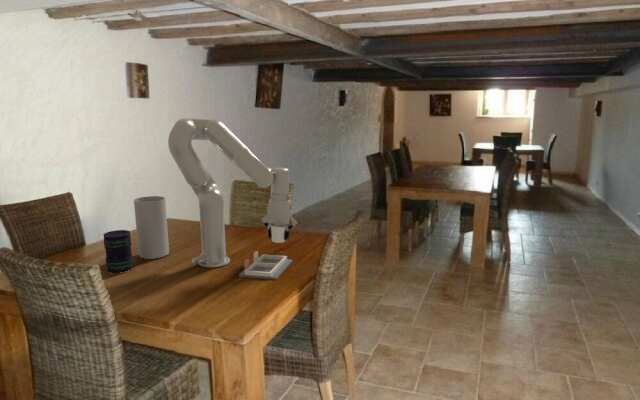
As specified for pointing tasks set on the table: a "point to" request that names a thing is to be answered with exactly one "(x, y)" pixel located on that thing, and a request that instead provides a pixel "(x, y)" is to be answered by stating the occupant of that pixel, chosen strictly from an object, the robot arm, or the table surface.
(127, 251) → the storage jar
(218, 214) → the robot arm
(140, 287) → the table surface
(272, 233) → the shot glass
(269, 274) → the well board
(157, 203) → the cylinder vase
